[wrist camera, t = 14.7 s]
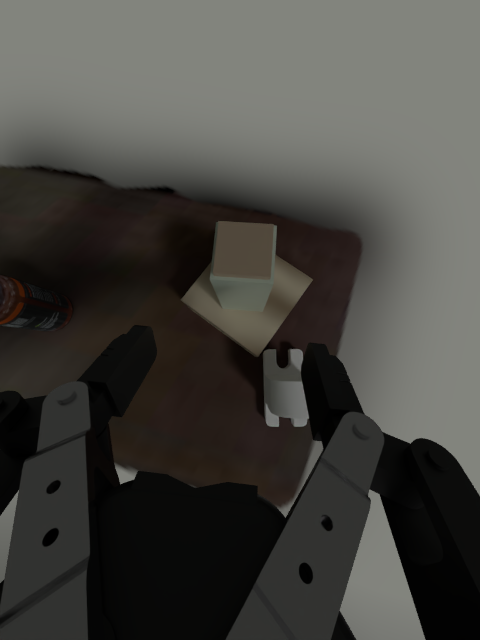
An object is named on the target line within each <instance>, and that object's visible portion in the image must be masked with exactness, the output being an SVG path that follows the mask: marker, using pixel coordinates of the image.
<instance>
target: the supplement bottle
mask: <svg viewBox="0 0 480 640" xmlns="http://www.w3.org/2000/svg"><path fill="white" fill-rule="evenodd" d="M72 311H73V308H72V304H71V302H70V301H69V299H68V298H67V297H65V296H63V295H61V294H59V293H56V292H53V291H50V290H47V289H44V288H41V287H38V286H35V285H32V284H29V283H26V282H23V281H19V280H17V279H14V278H10V277H7V276H4V275H0V326H9V327H16V328H24V329H32V330H40V331H56V330H59V329H61V328H63V327H64V326H65V325H66V324H67V323H68V322H69V321H70V319H71V316H72Z"/></svg>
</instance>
